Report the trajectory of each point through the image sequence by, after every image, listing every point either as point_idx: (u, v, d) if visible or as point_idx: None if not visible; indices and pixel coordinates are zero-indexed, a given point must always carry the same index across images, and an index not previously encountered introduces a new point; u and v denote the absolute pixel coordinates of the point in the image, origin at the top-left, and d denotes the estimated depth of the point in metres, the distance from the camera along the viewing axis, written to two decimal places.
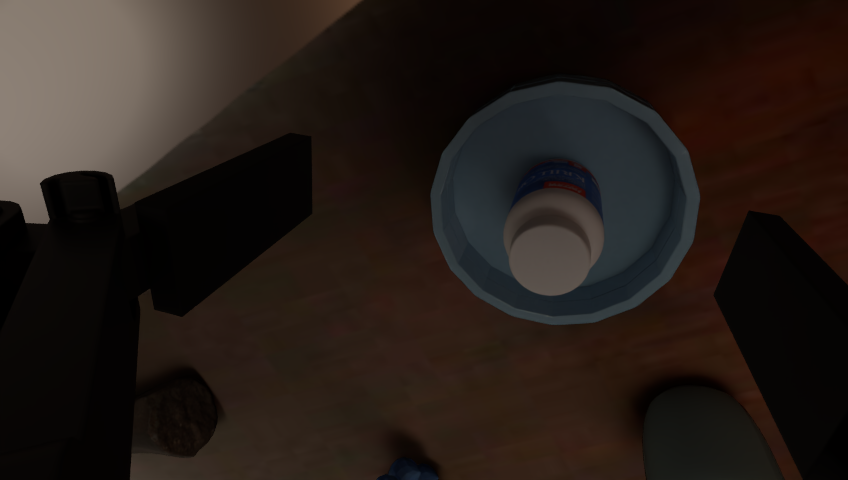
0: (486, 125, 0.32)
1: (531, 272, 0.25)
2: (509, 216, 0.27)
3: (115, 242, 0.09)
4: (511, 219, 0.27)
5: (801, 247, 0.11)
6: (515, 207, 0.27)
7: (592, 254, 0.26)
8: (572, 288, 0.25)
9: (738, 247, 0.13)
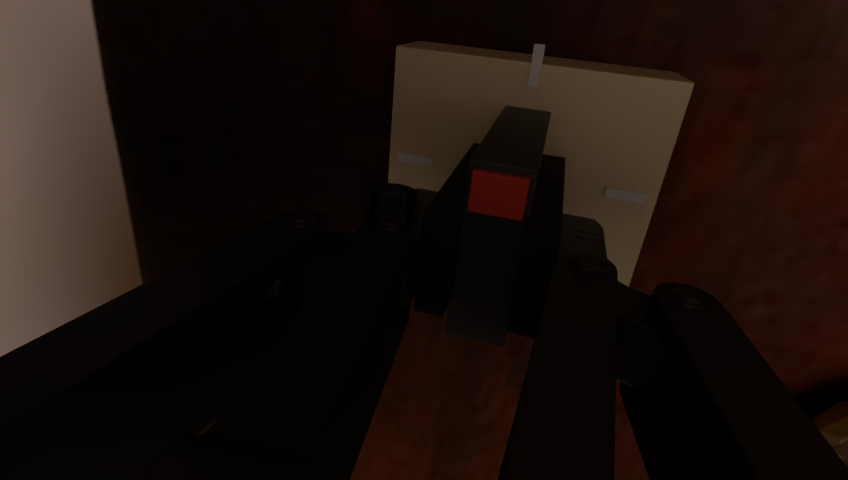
0: None
1: None
2: None
3: (403, 257, 0.10)
4: None
5: (556, 175, 0.15)
6: None
7: None
8: None
9: None
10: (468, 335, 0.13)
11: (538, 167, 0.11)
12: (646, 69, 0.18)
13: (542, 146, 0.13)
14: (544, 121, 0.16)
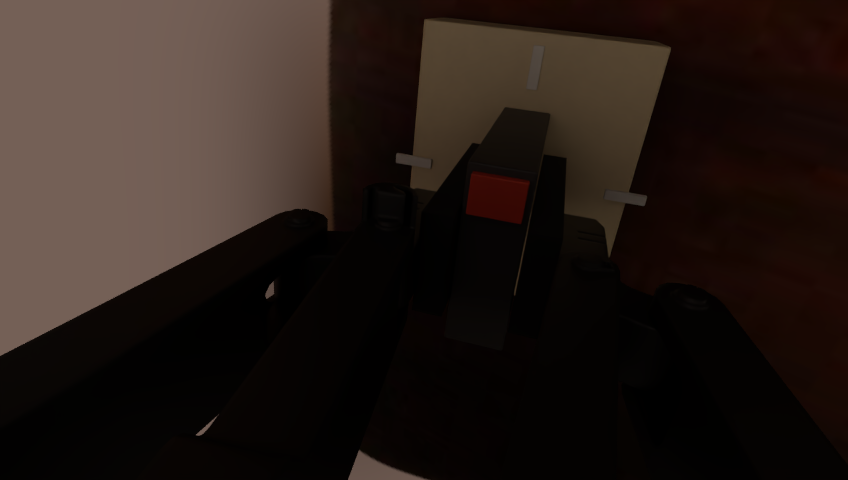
0: None
1: None
2: None
3: (401, 256, 0.10)
4: None
5: (557, 175, 0.14)
6: None
7: None
8: None
9: None
10: (467, 339, 0.13)
11: (537, 170, 0.11)
12: None
13: (541, 148, 0.13)
14: (543, 123, 0.15)
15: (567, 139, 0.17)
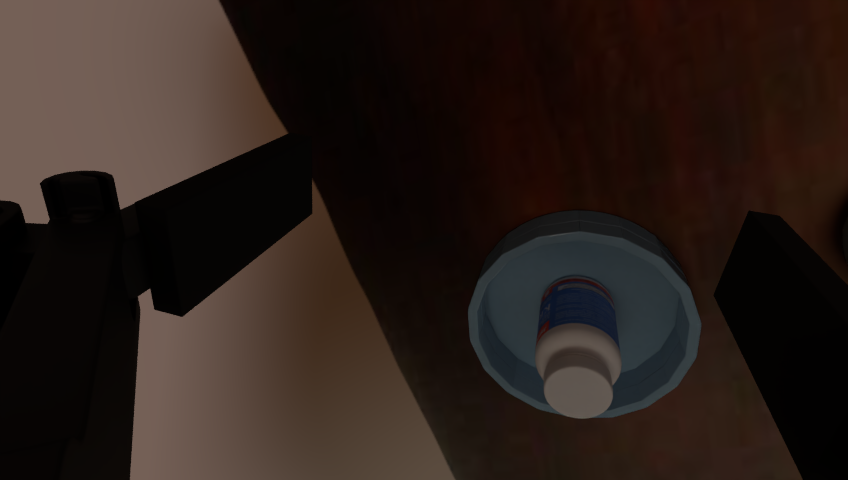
0: (505, 339, 0.41)
1: (586, 406, 0.30)
2: None
3: (115, 242, 0.09)
4: None
5: (801, 247, 0.11)
6: None
7: (593, 345, 0.30)
8: (607, 384, 0.29)
9: (738, 247, 0.13)
10: None
11: None
12: None
13: None
14: None
15: None
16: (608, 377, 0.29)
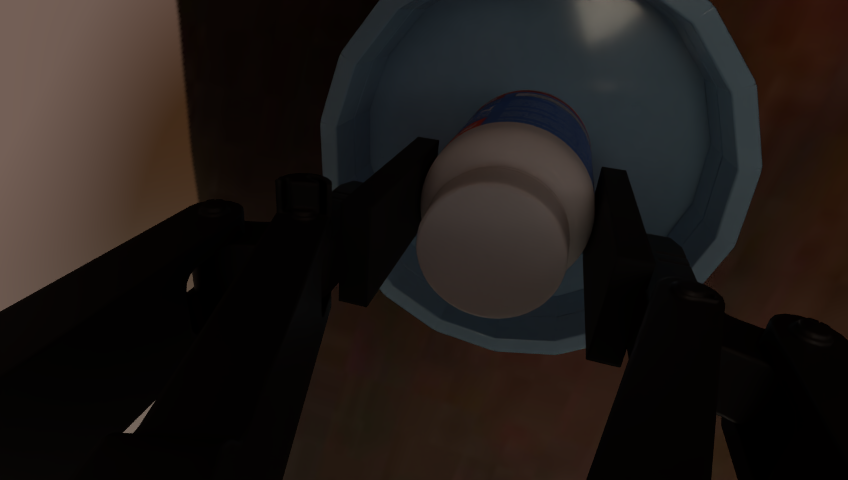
0: None
1: (490, 290, 0.13)
2: None
3: (320, 244, 0.10)
4: None
5: (624, 190, 0.14)
6: None
7: (561, 178, 0.14)
8: (563, 256, 0.12)
9: None
10: None
11: None
12: None
13: None
14: None
15: None
16: (568, 246, 0.13)
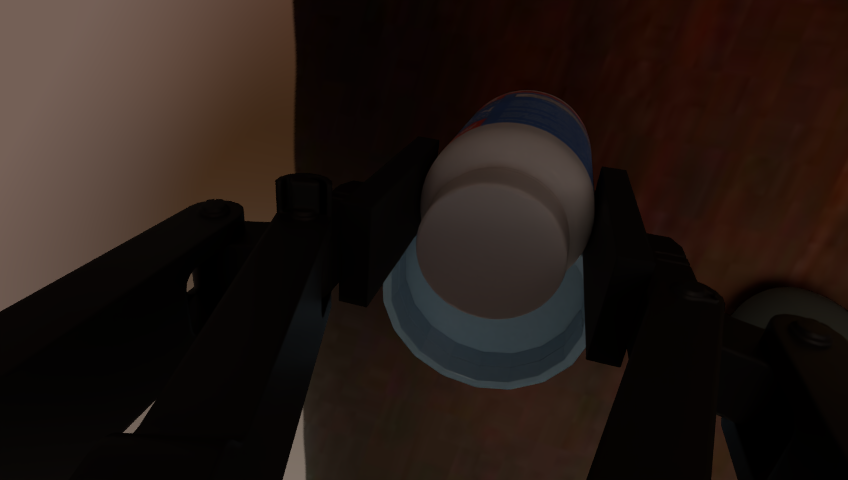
0: (412, 282, 0.41)
1: (490, 291, 0.13)
2: None
3: (320, 244, 0.10)
4: None
5: (624, 190, 0.14)
6: None
7: (561, 179, 0.14)
8: (563, 256, 0.12)
9: None
10: None
11: None
12: None
13: None
14: None
15: None
16: (568, 247, 0.13)
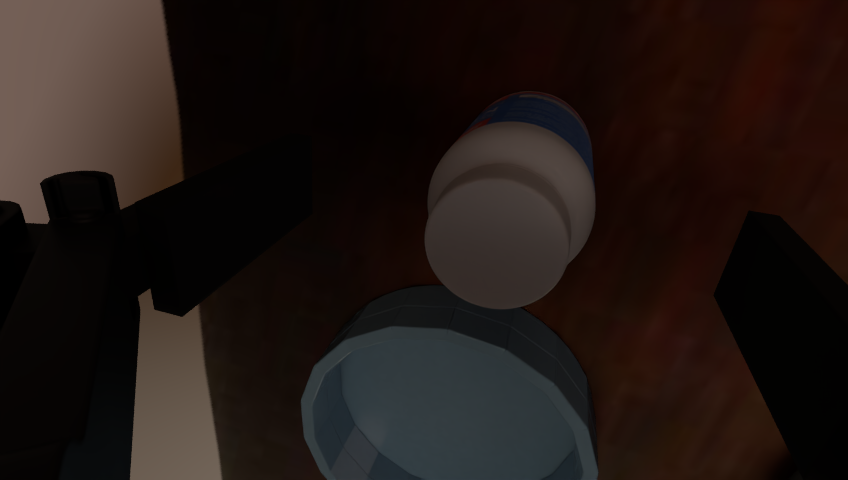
0: (350, 399, 0.31)
1: (495, 282, 0.14)
2: None
3: (115, 242, 0.09)
4: None
5: (801, 247, 0.11)
6: None
7: (563, 175, 0.14)
8: (565, 248, 0.13)
9: (738, 247, 0.13)
10: None
11: None
12: None
13: None
14: None
15: None
16: (570, 239, 0.13)
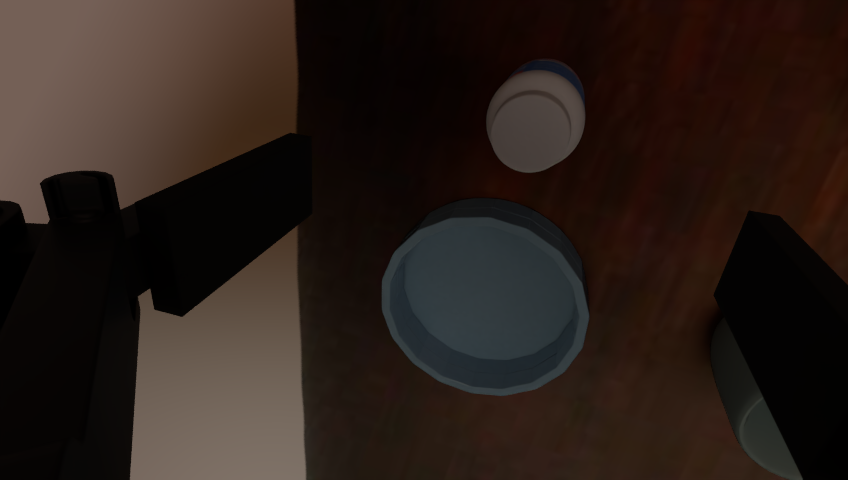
0: (410, 291, 0.42)
1: (529, 155, 0.25)
2: (491, 142, 0.28)
3: (115, 242, 0.09)
4: None
5: (801, 247, 0.11)
6: (487, 132, 0.28)
7: (566, 98, 0.26)
8: (568, 132, 0.24)
9: (738, 247, 0.13)
10: None
11: None
12: None
13: None
14: None
15: None
16: (570, 129, 0.25)
